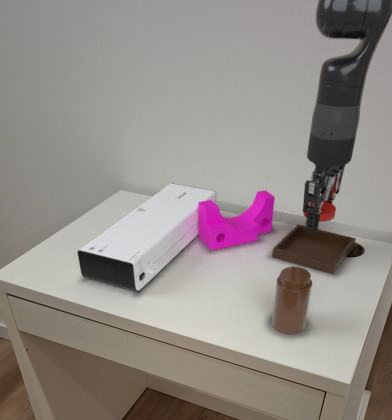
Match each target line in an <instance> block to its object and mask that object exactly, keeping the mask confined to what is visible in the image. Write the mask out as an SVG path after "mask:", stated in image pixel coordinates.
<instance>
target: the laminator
mask: <svg viewBox="0 0 392 420" xmlns="http://www.w3.org/2000/svg"><path fill="white" fill-rule="evenodd" d="M207 200H212V201H213V202H214V203H215V204H216V205H217V191H216V190H212V189H207V188H201V187H196V186H190V185H185V184H184V185H183V184H179V183H173V182H171V183H169V184H168V185H166V186H165V187H164V188H162V189H161V190H159V191H158V192H157V193H155V194H154V195H153V196H151V197H150V198H148V199H147V200H146V201H144V202H143V203H142V204H140V205H139V206H138V207H136V208H135V209H133V210H132V211H130V212H129V213H127V214H126V215H125V216H123V217H122V218H121V219H119V220H118V221H117V222H115V223H114V224H113V225H111V226H110V227H108V228H107V229H105V230H104V231H103V232H101V233H100V234H99V235H97V236H96V237H94V238H93V239H92V240H90V241H89V242H88V243H86V244H85V245H83V246H82V247H81V248H79V249H78V250H77V251H76V252H77V258H78V263H79V269H80V273H81V276H82V278H84V279H91V280H94V281H98V282H101V283H105V284H108V285H112V286H116V287H120V288H124V289H127V290H131V291H133V292H134V291H135V292H136V293H139V292H141V291H142V290H143V289H144V288H145V287H146V286H147V285H148V284H150V282H152V280H154V279H155V278H156V277H157V276H158V274H160V273H161V272H162V271H163V270H164V269H165V268H166V267H168V265H169V264H170V263H171V262H172V261H173V260H174V259H175V258H176V257H177V256H179V255H180V254H181V252H183V251H184V250H185V249H186V247H188V246H189V245H190V244H191V243H192V242H193V241H194V240H195V239H196V238H197V237H199V202H202V201H207Z"/></svg>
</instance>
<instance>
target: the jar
mask: <svg viewBox="0 0 392 420" xmlns="http://www.w3.org/2000/svg"><path fill="white" fill-rule="evenodd" d="M311 278H312V275H311V272H310V271H309V270H308V269H306V268H303V267H299V266H288V267H285V268H283V269H282V270H280V272H279V274H278V277H277V278H276V283H275V284H276V285H275V293H274V300H273V308H272V309H273V310H272V319H271V326H272V327H273V329H274V330H275V331H276V332H278V333H281V334H283V335H297V334H300V333H302V332H303V331H304V330H305V328H306V322H307V317H308V310H309V306H310V301H311V294H312V287H313V280H312V279H311Z"/></svg>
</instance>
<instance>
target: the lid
mask: <svg viewBox="0 0 392 420" xmlns="http://www.w3.org/2000/svg"><path fill="white" fill-rule="evenodd" d="M312 206H314V203H312ZM336 211H337V207H336V206H335V204H333V203H332V204H331V203H328V202H324V204H323V207H322V212H321V213H320V214H321V215H320V220H319V223H320V222H330V221H332V220H333V219H335V216H336ZM302 214H303V217H305V218H306V219H307V213H305V212H303V211H302Z"/></svg>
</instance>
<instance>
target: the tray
mask: <svg viewBox="0 0 392 420" xmlns="http://www.w3.org/2000/svg"><path fill="white" fill-rule="evenodd" d="M305 226H306V225H303V224H299V223H298V224H297V225H296V226H294V228H293V229H291V230H290V231H289V233H287V234H286V235H285V236H284V237H283V238H282V239H281V240H280V241H279V242H278V243H277V244H276V245H275V246H274V247H273V248H272V256H271V258H274V259H277V260H281V261H284V262H288V263H292V264H295V265H297V266H302V267H306V268H309V269H312V270H317V271H320V272H324V273H327V274H331V275H334V274H335V273H336V272H337V270H338V268H340V267H341V265H342V263H343V262H344V261H345V260H346V258H347V257H348V255H349V254H350V253H351V252H352V250H353V249H354V248H355V245H356V239H357V238H356V237H352V236H348V235H343V234H339V233H336V232H331V231H327V230H325V229H324V230H323V229H321V228H318V231H317V232H316V233H310V232H307V231H306V230H305Z"/></svg>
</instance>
